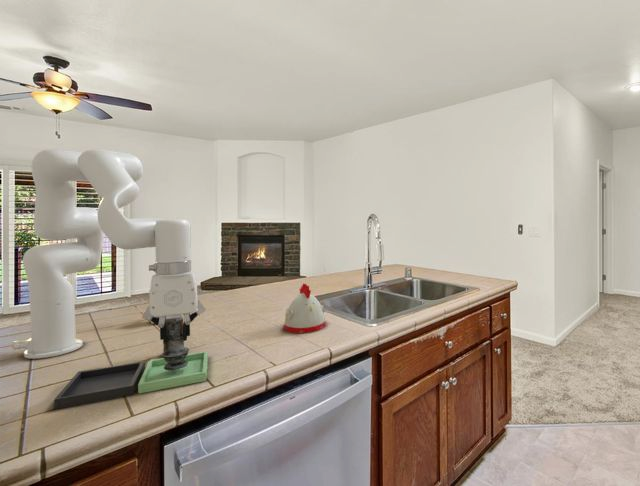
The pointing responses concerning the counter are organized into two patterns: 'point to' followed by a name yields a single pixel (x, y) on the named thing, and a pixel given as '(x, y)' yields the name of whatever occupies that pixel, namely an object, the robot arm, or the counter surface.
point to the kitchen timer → (304, 313)
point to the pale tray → (173, 373)
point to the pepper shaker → (169, 320)
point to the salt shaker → (175, 348)
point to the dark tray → (100, 384)
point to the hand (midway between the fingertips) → (175, 339)
